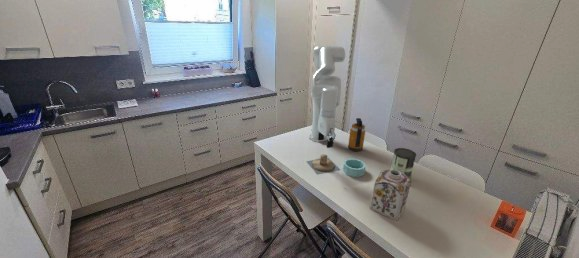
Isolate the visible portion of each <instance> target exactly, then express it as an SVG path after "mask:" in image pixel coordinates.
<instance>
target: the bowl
mask: <svg viewBox="0 0 579 258" xmlns="http://www.w3.org/2000/svg"><path fill="white" fill-rule="evenodd" d="M342 172H343V173H344V174H345V175H348V176H349V177H353V178H359V177H360V178H361V177H362V176H364V174H365V172H366V163H365V162H364V161H363V160H361V159H358V158H346V159H344V161H343V165H342Z"/></svg>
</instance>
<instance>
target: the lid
mask: <svg viewBox="0 0 579 258" xmlns="http://www.w3.org/2000/svg"><path fill="white" fill-rule="evenodd" d="M327 158H328V155H327V154H323V153H322V154H320V155H319V158H316V159H313V160H314V161H313V162H312V166H313V168H314V169H316V170H318V171H331V170H332V169H333V168H334V164H335V163H334V162H333V161H332V160H331V159H330V160H331V161H330V160H328V159H327Z"/></svg>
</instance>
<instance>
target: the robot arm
mask: <svg viewBox="0 0 579 258" xmlns="http://www.w3.org/2000/svg"><path fill="white" fill-rule="evenodd" d="M312 51H313V52H312V57H313V61H314V64H315V68H316V70H315V73H314V74H313V75H312V78H311V81H310V94H311V97H312V125H311V129H310V130H311V133H310V134H309V136H308V137H309V139H310V140H311V141H313V142H317V143H321V142H322V143H323V142H326V148H327V149H330V148H333V146H334V140H335V139H336V136H337V135H336V132H335V128H336V125H335V123H336V121H335V120H336V118H335V117H336V110H337V109H338V108H339V107H340V105H341V93H342V91H341V89H342V80H341V77H340V76H338V75H333V74H334V73H335V71H336V65H335V64H336V63H343V62H344V61H345V60H346V59H345V58H346V50H345V48H344V47H343V46H338V45H337V46H331V45H329V46H328V45H319V46H315V47H314V48H313V50H312Z"/></svg>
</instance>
